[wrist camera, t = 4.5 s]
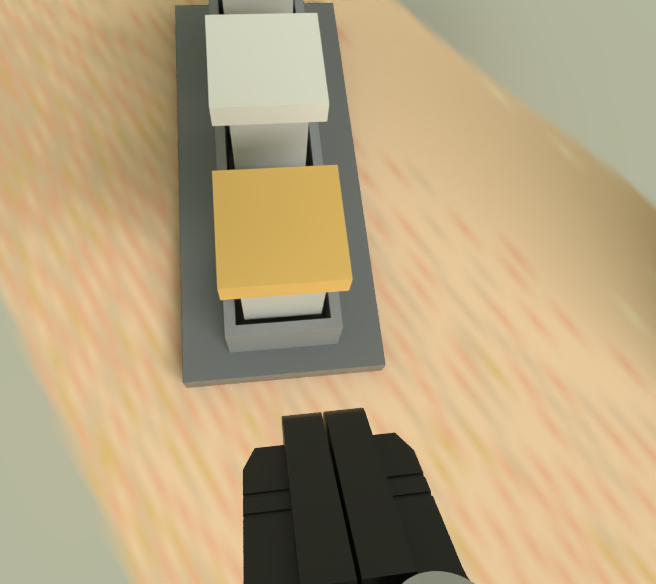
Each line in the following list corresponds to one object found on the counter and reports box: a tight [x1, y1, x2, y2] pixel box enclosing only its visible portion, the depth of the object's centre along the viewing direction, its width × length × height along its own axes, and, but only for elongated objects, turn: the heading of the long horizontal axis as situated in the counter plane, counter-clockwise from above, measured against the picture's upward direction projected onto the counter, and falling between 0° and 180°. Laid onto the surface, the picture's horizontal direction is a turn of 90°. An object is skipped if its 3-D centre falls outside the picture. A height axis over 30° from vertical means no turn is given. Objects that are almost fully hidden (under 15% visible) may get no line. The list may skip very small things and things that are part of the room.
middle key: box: [205, 13, 329, 170], centre depth 28 cm, size 5×5×6 cm
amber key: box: [212, 165, 353, 320], centre depth 25 cm, size 5×5×6 cm
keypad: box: [175, 0, 385, 388], centre depth 32 cm, size 24×10×4 cm, turn 6°
